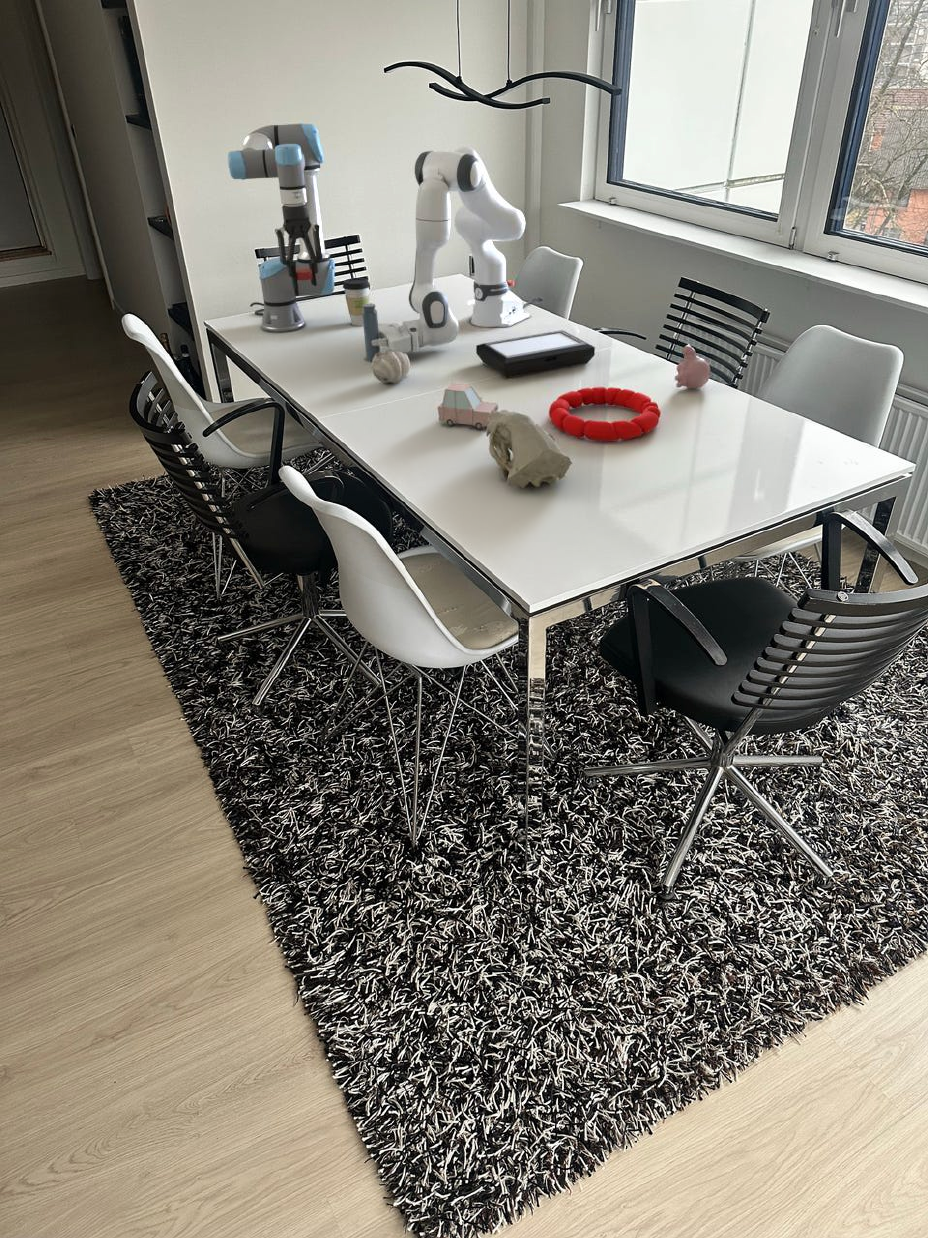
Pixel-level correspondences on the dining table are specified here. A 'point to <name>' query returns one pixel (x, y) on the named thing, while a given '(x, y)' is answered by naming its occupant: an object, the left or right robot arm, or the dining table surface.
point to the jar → (370, 330)
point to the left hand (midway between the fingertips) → (304, 285)
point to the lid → (304, 274)
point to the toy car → (465, 406)
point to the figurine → (692, 370)
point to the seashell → (390, 366)
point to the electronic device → (535, 353)
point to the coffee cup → (356, 298)
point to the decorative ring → (604, 428)
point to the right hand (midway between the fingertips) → (369, 339)
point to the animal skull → (525, 450)
